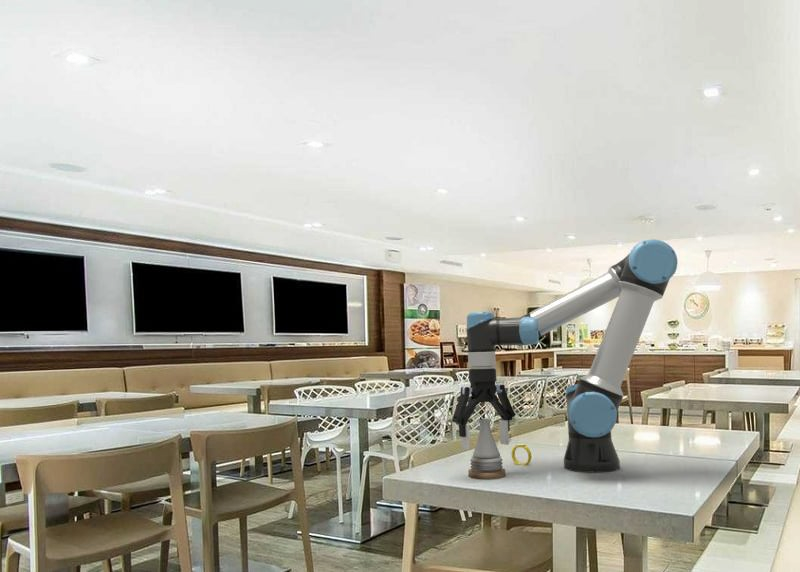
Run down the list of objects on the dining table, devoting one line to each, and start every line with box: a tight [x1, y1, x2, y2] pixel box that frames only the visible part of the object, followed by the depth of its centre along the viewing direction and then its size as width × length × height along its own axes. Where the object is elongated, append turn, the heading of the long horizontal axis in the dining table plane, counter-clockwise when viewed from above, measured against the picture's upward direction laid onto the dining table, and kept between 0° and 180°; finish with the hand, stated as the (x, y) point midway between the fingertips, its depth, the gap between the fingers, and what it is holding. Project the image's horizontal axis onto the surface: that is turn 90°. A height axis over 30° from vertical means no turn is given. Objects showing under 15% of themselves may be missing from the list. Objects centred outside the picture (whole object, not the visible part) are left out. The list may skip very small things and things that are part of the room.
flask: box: [472, 418, 501, 458], centre depth 176 cm, size 7×7×10 cm
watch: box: [511, 443, 532, 466], centre depth 191 cm, size 6×3×6 cm, turn 50°
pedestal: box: [467, 455, 507, 480], centre depth 175 cm, size 10×10×5 cm
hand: (485, 446), depth 176 cm, fingers open, 13 cm apart
